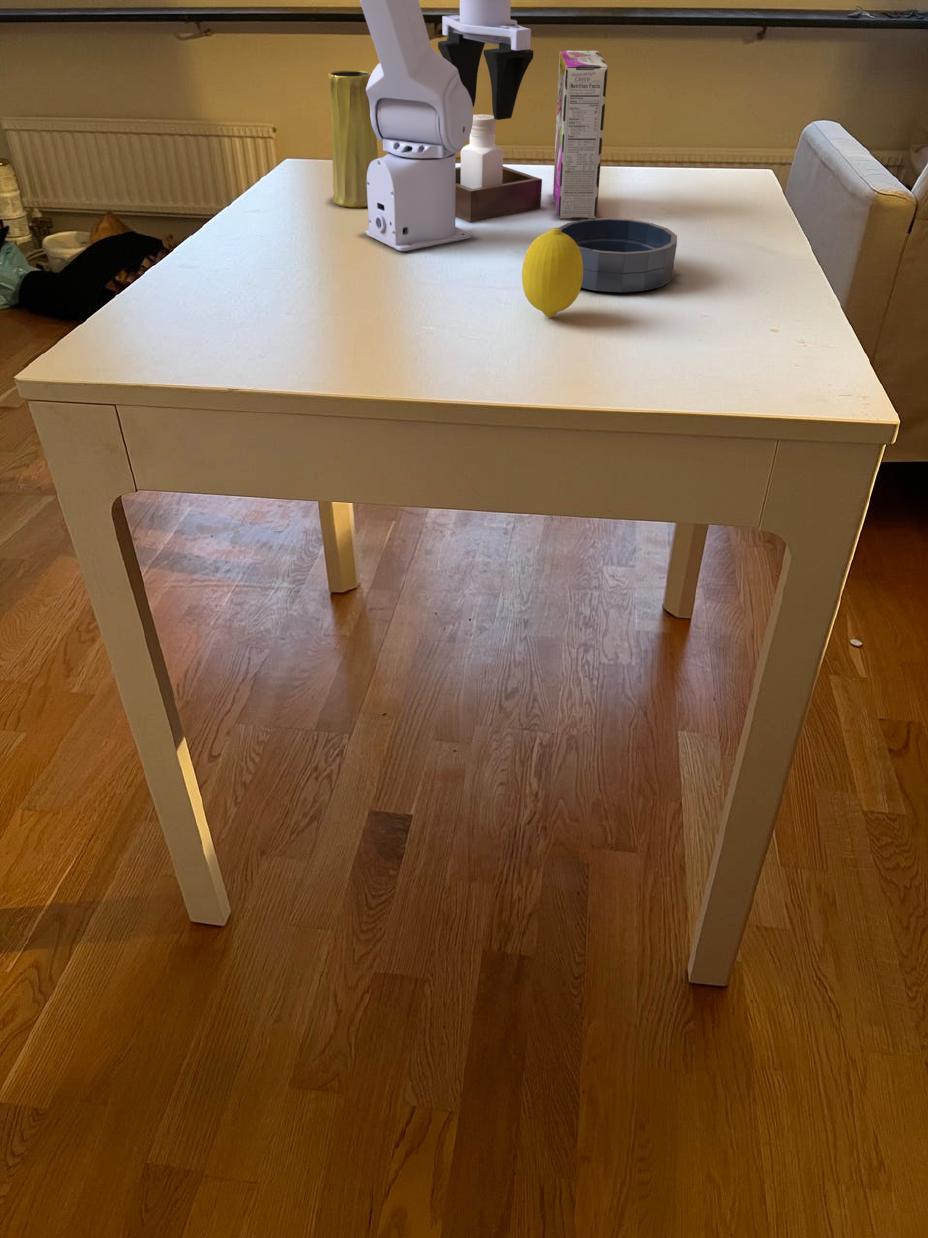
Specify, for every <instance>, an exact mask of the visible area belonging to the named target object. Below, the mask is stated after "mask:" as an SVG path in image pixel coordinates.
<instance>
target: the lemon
mask: <svg viewBox="0 0 928 1238" xmlns="http://www.w3.org/2000/svg"><path fill="white" fill-rule="evenodd" d="M558 228H559V227H553V228H550V230H549V231H547V232H545V233H541V234H540V235H539V236H538V237H536V238H535V239H534V240H533V241H532V242H531V243H530V244H529V247H528V248H527V250H526V253H525V255H524V259H523V262H522V270H521V282H522V287H523V288H522V289H523V292H524V296H525V298H526V299H527V301H528V303H530V305H531V306H532V307H533V308H535V309H536V310H538V311H541V312H542V313H543V315H544V316H545V317H546V318H549V319H551V318H554V317H555V316H556V315H557V314H558V313H559V312H562V311H565V310H567V309H568V308H569V307H571V306H572V304H574V302H575V301H576V300H577V298H578V296H579V295H580V293H581V289H582V288H581V286H582V280H583V261H582V256H581V252H580V249H579V247H578V245H577V244H576V243H575V241H574V240H573V239H572V238H571V237H569V236H568V235H566V234H564V233H562V232H561V231H560V230H559V229H558Z"/></svg>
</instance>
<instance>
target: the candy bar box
mask: <svg viewBox="0 0 928 1238" xmlns="http://www.w3.org/2000/svg"><path fill="white" fill-rule="evenodd" d="M558 57H559V60H558V76H557V98H556V99H557V101H556V117H555V118H556V119H555V121H556V123H555V143H554V164H553V186H552V188H553V189H552V195H553V196H552V197H553V200H554V205H555V209H556V213H557V218H558V219H559V220H564V221H566V220H568V221H569V220H571V221H573V220H575V221H579V220H584V219H597V218H598V217H597V216H598V204H599V203H598V202H599V191H600V179H601V176H600V175H601V166H602V165H601V164H602V148H603V138H604V137H603V136H604V125H605V124H604V123H605V113H606V95H607V84H608V72H609V66H608V65H607V63H606V61H605V60H604V58H603V56H602V55H601V52H600V51H599V50H583V49H580V50H579V49H577V50H571V49H568V50H561V51H559V56H558Z"/></svg>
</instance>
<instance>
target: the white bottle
mask: <svg viewBox="0 0 928 1238" xmlns="http://www.w3.org/2000/svg"><path fill="white" fill-rule="evenodd" d="M496 121H497V120H496V119H494V115H492V114H486V113H485V114H484V113H482V114H480V113H479V114H478V113H477V114H473V124H472V129H471V133H470V136H469V143H468V144H466V145H464V146H463V147H462V149H461V151H460V167H461V183H460V185H463V186H466V187H468V188H471V189H476V188H482V187H488V186H494V185H500V184H502V175H503V166H504V150H503V148H502V147H501V146H499V145H498V144H495V143H496V134H497V133H496V124H497V122H496Z"/></svg>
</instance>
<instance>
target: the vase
mask: <svg viewBox="0 0 928 1238" xmlns="http://www.w3.org/2000/svg"><path fill="white" fill-rule="evenodd" d="M371 74H372V72H371V71H369V70H364V69H363V70H362V69H339V70H333V71H329V72H328V74H327V75H328V76H327V77H328V78H327V79H328V87H329V88H328V91H329V110H330V111H329V112H330V132H331V133H330V134H331V159H332V186H333V187H332V188H333V199H332V201H333V202H334V204H335V205H337V206H339V207H343V208H350V209H351V208H352V209H357V208H358V209H361V208H368V201H367V171H368V167H369V165H370V163H371V162H372V161H373V160H375V159H378V158H379V151H378V150H379V149H378V138H377V136H376V134H375V132H374V130H373V127H372V124H371V118H370V103H369V98H368V95H367V93H366V87H367V84H368V81H369V78H370V76H371Z"/></svg>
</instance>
